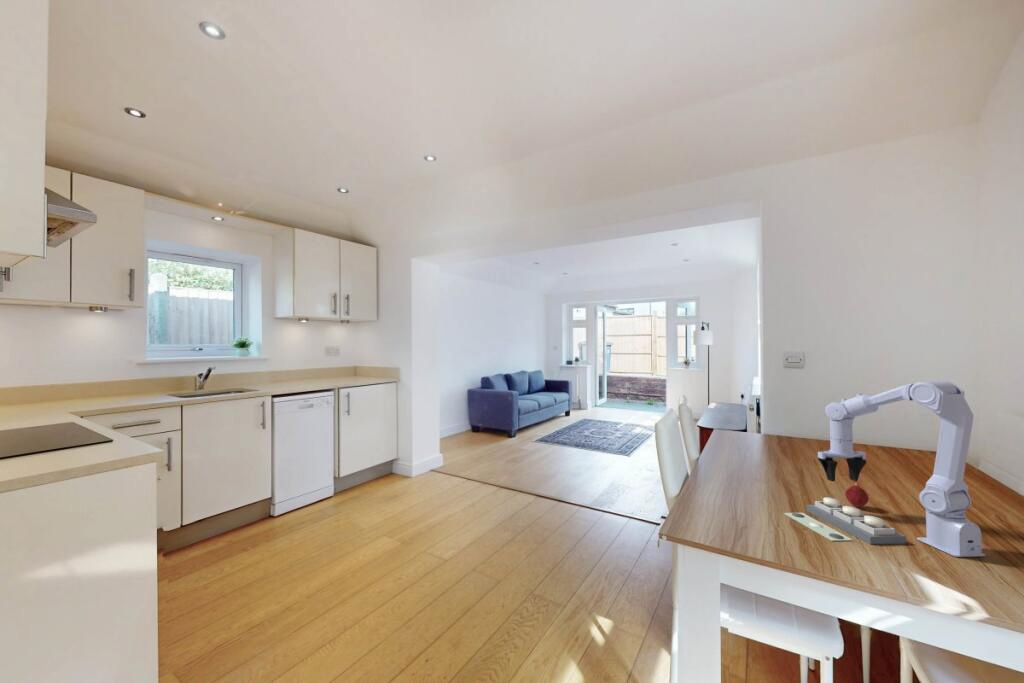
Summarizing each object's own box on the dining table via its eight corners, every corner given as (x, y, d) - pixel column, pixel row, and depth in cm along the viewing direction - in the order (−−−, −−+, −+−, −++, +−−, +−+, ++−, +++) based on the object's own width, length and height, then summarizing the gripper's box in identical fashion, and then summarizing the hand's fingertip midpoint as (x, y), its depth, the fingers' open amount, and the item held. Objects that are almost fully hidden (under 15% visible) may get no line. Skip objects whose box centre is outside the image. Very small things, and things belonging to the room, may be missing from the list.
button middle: (864, 517, 115) (863, 511, 115) (851, 517, 115) (850, 511, 115) (851, 511, 119) (851, 505, 119) (839, 511, 119) (839, 506, 119)
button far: (843, 507, 122) (843, 502, 122) (830, 508, 122) (830, 502, 122) (832, 502, 126) (832, 497, 126) (820, 503, 126) (820, 497, 126)
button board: (906, 543, 106) (905, 530, 106) (870, 544, 106) (870, 531, 106) (836, 510, 128) (835, 499, 128) (806, 510, 128) (806, 500, 128)
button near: (887, 528, 108) (887, 521, 108) (873, 528, 108) (873, 521, 108) (873, 521, 112) (873, 515, 112) (860, 522, 112) (860, 515, 112)
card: (853, 540, 108) (853, 539, 108) (832, 541, 107) (831, 539, 107) (802, 513, 126) (802, 512, 126) (784, 513, 125) (784, 512, 125)
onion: (873, 511, 127) (872, 487, 127) (852, 510, 128) (852, 485, 128) (861, 504, 133) (860, 481, 133) (841, 503, 134) (841, 480, 134)
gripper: (852, 436, 133) (853, 476, 133) (810, 436, 133) (811, 476, 132) (871, 440, 126) (872, 483, 126) (827, 441, 126) (828, 483, 125)
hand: (842, 480), depth 129 cm, fingers open, 7 cm apart
